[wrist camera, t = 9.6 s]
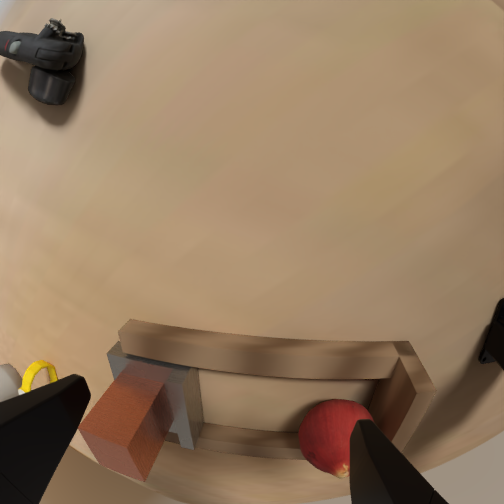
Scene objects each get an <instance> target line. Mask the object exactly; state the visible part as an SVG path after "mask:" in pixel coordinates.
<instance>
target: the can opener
mask: <svg viewBox="0 0 504 504" xmlns="http://www.w3.org/2000/svg"><path fill="white" fill-rule="evenodd" d="M49 21H50V24H49V25H48V24H46V25H45V28H44V29H43V30H42V31H41V32H40V34H39V35H37V34H33V33H16V32H10V31H1V32H0V55H1V56H4V57H6V58H10V59H13V60H18V61H22V62H26V63H29V64H32V65H35V66H33V67H32V69H31V74H30V80H29V86H28V91H29V93H30V94H31V95H32V96H33V97H34V98H35V99H36V100H38V101H40V102H42V103H45V104H48V105H62V104H64V102H65V101H66V99H67V97H68V95H69V93H70V91H71V89H72V87H73V85H74V83H75V77H74V76H73V75H72V74H71V73H69V72H67V71H65V69H70V68H72V67H73V66H75V65H76V64H77V62H78V61H79V59H80V57H81V54H82V50H83V45H84V36H83V34H82V33H79V32H78V33H71V32H66V31H65V29H66V28H65V26H63V24H62V23H61V19H60V20H59V21H58V20H56V19H52V18H51V19H50V20H49Z"/></svg>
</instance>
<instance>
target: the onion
mask: <svg viewBox="0 0 504 504" xmlns="http://www.w3.org/2000/svg"><path fill="white" fill-rule="evenodd" d="M359 419H371V420H372V421H373V418H372V416H371V414H370V413H369V412H368V411H367V409H366V408H365V407H363V406H362V405H361V404H359V403H356V402H354V401H350V400H343V399H332V400H329V401H325V402H322V403H320V404H318V405H316V406H315V407H314V408H312V409H311V410H310V411H309V412H308V413H307V415H306V416H305V418H304V419H303V421H302V423H301V425H300V428H299V433H298V436H299V444H300V450H301V452H302V454H303V456H304V457H305V458H306V460H307V461H309V462H310V463H311V464H312V465H313V466H315V467H316V468H317V469H319V470H321V471H324V472H327V473H330V474H332V475H334V476H336V477H338V478H346V477H348V476H349V475H350V436H351V433H352V431H353V428H354V426H355V424H356V422H357V420H359ZM373 422H374V421H373Z"/></svg>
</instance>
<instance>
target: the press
mask: <svg viewBox="0 0 504 504" xmlns="http://www.w3.org/2000/svg"><path fill="white" fill-rule="evenodd" d="M107 356H108V360H109V363H110V367H111V370H112V373H113V377H114V382H113V383H112V384H111V385H110V387H109V388H108V389H107V390H106V392H105V393H104V394H103V396H102V397H101V398H100V399H99V401H98V402H97V403H96V405H95V406H94V407H93V408H92V410H91V411H90V412H89V414H88V415H87V416H86V417H85V419H84V420H83V421H82V423H81V424H80V425H79V427H78V429H79V431H80V433H81V434H82V436H83V438H84V440H85V441H86V443H87V445H88V446H89V448H90V450H91V451H92V453H93V454H94V456H95V457H96V459H97V461H98V462H99V464H100V465H102V466H104V467H107V468H109V469H111V470H114V471H116V472H119V473H121V474H124V475H127V476H129V477H132V478H135V479H138V480H140V481H143V482H145V481H146V478H147V476H148V474H149V472H150V470H151V468H152V466H153V464H154V461H155V459H156V457H157V455H158V453H159V451H160V449H161V447H162V444H163V442H164V440H165V438H166V436H167V434H168V432H173V433H177V434H178V437H179V441H180V445H181V447H183V448H187V449H192V450H194V449H195V446H196V444H197V441H198V438H199V435H200V432H201V430H202V427H203V424H204V420H203V413H202V405H201V396H200V387H199V378H198V368H197V367H192V366H186V365H180V364H174V363H169V362H164V361H159V360H154V359H150V358H145V357H140V356H136V355H132V354H128V353H123V351H122V347H121V342H120V341H118V342H117V343H116V344H115V345H114V346H113V347H112V348H111V349H110V350H109V352H108V353H107Z"/></svg>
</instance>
